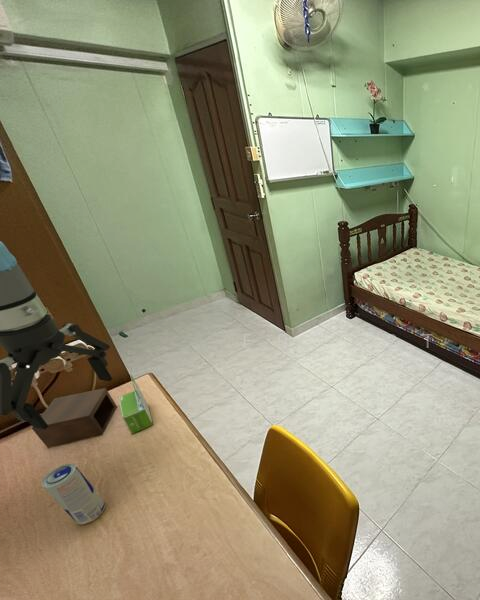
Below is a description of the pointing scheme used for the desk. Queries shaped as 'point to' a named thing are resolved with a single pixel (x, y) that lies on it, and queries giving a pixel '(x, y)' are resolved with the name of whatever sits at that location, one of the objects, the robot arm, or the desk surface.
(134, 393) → the ink box
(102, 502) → the beverage can
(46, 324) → the robot arm
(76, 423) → the walnut shelf
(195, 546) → the desk surface
